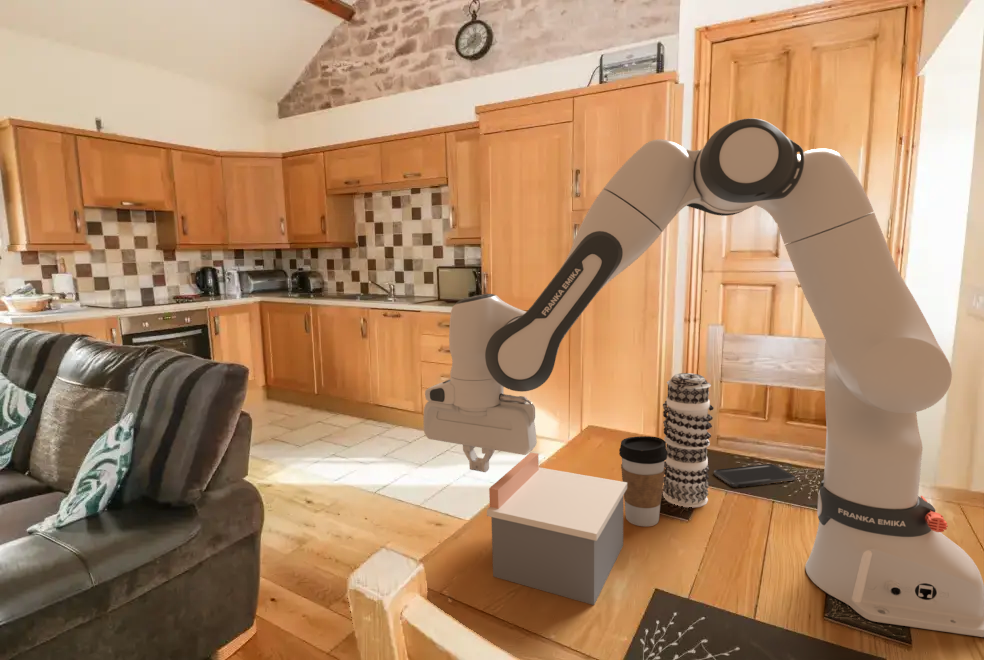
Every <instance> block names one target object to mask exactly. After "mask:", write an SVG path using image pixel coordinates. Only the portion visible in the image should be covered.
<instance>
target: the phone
mask: <svg viewBox="0 0 984 660" xmlns="http://www.w3.org/2000/svg"><path fill="white" fill-rule="evenodd" d="M713 475H714V477H716V478H717V477H718V478H717V479H719V480H720V479H721V480H720V481H722V480H723V481H724V482H723V481H722V482H723V483H725V484H726V483H727V484H726V485H728V484H729V485H730V486H729V485H728V486H729V487H731V486H732V487H731V488H734V487H742V488H747V487H746V486H750V487H757V486H756V485H759V486H762V485H761V484H767V485H770V484H769V483H774V482H781V481H792V480H795V481H796V476H795V475H793V474H792V473H790V472H788V471H786V470H784V469H783V468H781V467H779V466H777V465H775V464H770V463H768V464H758V465H757V464H756V465H748V466H747V465H746V466H738V467H730V468H720V469H719V468H717V469H714V470H713Z"/></svg>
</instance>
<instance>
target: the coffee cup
mask: <svg viewBox="0 0 984 660" xmlns="http://www.w3.org/2000/svg"><path fill="white" fill-rule="evenodd" d="M666 447H667V443H666V442H665V440H664V439H663V438H661V437H657V436H650V435H648V436H647V435H645V436H643V435H642V436H641V435H640V436H631V437H626V438H623V439H622V440H621V441H620V448H618V449H619V454H618V455H619V457H620V458H621V464H620V469H621V478H622V479H621V480H622V482H627V490H626V491H625V493H624V498H623V501H624V512H625V519H626V520H627V521H628V522H629V523H630V524H632V525H635V526H638V527H652V526H655V525H657V524H658V523H659V521H660V511H661V503H662V498H663V497H662V495H663V485H664V483H663V481H664V477H665V475H664V473H665V467H664V462H665V460H666V459H667V451H666Z"/></svg>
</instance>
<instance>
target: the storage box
mask: <svg viewBox="0 0 984 660" xmlns="http://www.w3.org/2000/svg"><path fill="white" fill-rule="evenodd" d="M490 518H491V544H492V547H491V550H492V575H493V576H492V577H493V578H498V579H500V580H505V581H507V582H508V581H509V582H511V583H514V584H519V585H523V586H524V587H525V586H526V587H528V588H532V589H537V590H540V591H543V592H546V593H550V594H554V595H558V596H560V597H565V598H568V599H571V600H575V601H579V602H581V603H584V604H585V603H586V604H589V605H593V606H595V604H596V602H597V600H598V598H599V596H600V594H601V592H602V590H603V588H604V586H605V584H606V581H607V579H608V577H609V575H610V573H611V571H612V569H613V567H614V565H615V563H616V561H617V558H618V557H619V555H620V553H621V550H622V548H623V547H624V495H623V496H622V498H621V500H620V502H619V503H618V505H617V507H616V508H615V510H614V512H613V514H612V515H611V517H610V519H609V520H608V522H607V524H606V526H605V527H604V529H603V531H602V532H601V534H600V536H599V538H598V539H597V541H595V540H591V539H586V538H582V537H577V536H573V535H569V534H564V533H560V532H555V531H551V530H547V529H542V528H538V527H533V526H529V525H525V524H520V523H516V522H511V521H507V520H503V519H498V518H494V517H490Z"/></svg>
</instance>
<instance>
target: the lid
mask: <svg viewBox="0 0 984 660" xmlns="http://www.w3.org/2000/svg"><path fill="white" fill-rule="evenodd" d="M539 461H540V460H539V453H537V452H532V451H530V452H529V453H528V454H526V455H525V457H523V459H521V460H520V461H518V463H516V464H515V465H514V466H513V467H512V468H511V469H510V470H509V471H507V472H506V473H505V474H504V475H503V476H502V477H501V478H499V479H498V480H497V481H496V482H495V483H493V484H492V485H491V486H490V487H489V489H488V492H489V493H488V494H489V506H488V508H487V509H486V516H487V517H489V518H491V517H494V518H498V519H503V520H507V521H511V522H516V523H520V524H525V525H529V526H533V527H538V528H542V529H547V530H551V531H555V532H560V533H564V534H569V535H573V536H577V537H582V538H586V539H591V540H595V541H597V539H598V538H599V536H600V534H601V532H602V531H603V529H604V527H605V526H606V524H607V522H608V520H609V519H610V517H611V515H612V514H613V512H614V510H615V508H616V507H617V505H618V503H619V502H620V500H621V498H622V496H623V495H624V493H625V491H626V490H627V482H623V480H622V481H620V480H614V479H608V478H604V477H603V478H602V477H599V476H598V477H597V476H591V475H586V474H585V475H584V474H579V473H575V472H574V473H573V472H568V471H563V470H556V469H552V468H545V467H540V465H539V463H540V462H539Z"/></svg>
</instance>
